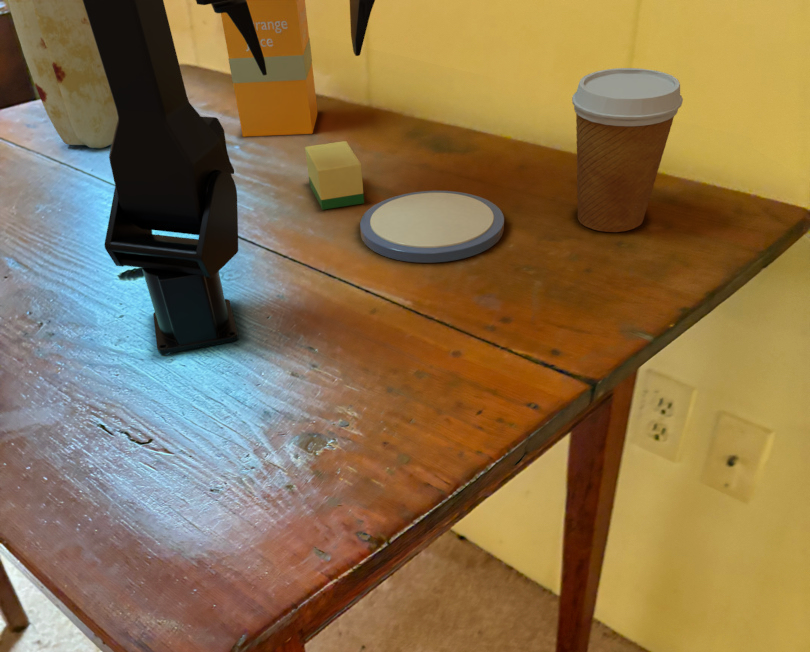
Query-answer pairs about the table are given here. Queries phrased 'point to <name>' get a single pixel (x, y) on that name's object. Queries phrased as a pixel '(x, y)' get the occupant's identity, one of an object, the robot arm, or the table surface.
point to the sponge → (334, 175)
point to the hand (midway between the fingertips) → (310, 64)
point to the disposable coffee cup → (621, 143)
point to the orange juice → (274, 70)
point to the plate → (432, 226)
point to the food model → (66, 69)
